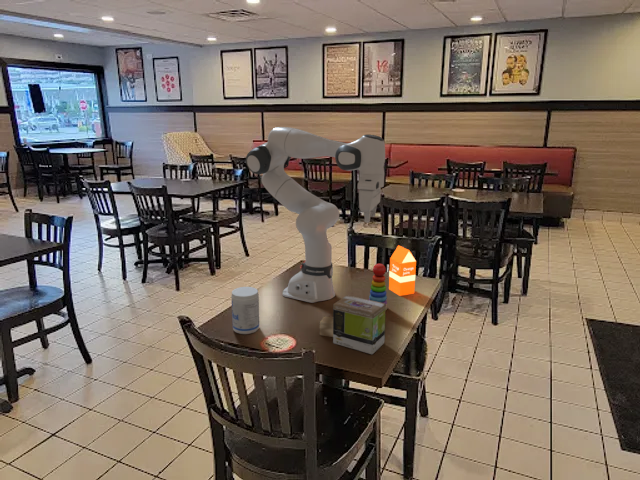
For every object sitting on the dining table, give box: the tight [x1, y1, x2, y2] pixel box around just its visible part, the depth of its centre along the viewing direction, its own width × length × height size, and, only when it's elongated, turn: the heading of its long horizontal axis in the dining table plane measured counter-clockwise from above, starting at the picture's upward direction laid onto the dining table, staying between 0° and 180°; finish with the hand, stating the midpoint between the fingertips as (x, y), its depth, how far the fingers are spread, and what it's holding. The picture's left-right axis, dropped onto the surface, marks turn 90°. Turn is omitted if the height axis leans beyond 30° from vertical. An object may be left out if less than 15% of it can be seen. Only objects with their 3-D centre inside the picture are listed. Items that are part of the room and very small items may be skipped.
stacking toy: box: [368, 263, 388, 311], centre depth 179 cm, size 8×8×19 cm
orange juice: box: [388, 244, 417, 297], centre depth 197 cm, size 8×9×20 cm
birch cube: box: [319, 315, 333, 338], centre depth 161 cm, size 5×5×5 cm
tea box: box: [332, 294, 386, 355], centre depth 153 cm, size 15×10×15 cm, turn 58°
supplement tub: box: [230, 286, 260, 335], centre depth 163 cm, size 10×10×15 cm
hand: (370, 219), depth 166 cm, fingers open, 8 cm apart
